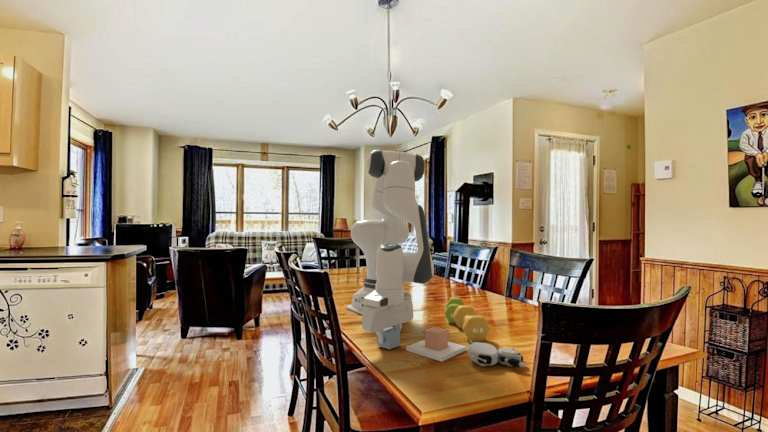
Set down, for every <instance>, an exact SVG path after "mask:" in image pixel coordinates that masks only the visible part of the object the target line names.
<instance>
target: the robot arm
mask: <svg viewBox="0 0 768 432" xmlns="http://www.w3.org/2000/svg"><path fill="white" fill-rule="evenodd" d="M425 162H426V161H425V159H424V157H423V156H422V155H419V154H416V153H411V152H406V151H401V150H381V149H373V150H371V152H370V153H369V156H368V157H367V160H366V169H367V173H368V174H369V176H371V177H373V178H376V179H375V183H374V188H373V193H372V200H371V205H372V208H373V209H374V211H375V212H376V213H378V214H380V215H381V216H382V217H381V219H363V220H359V221H358V220H357V221H355V222H353V224H352V226H351V228H350V238H351V240H352V241H353V243H354V244H355V245H356V246H357V247H359V248H360V250H361V251H362V253H363V255H364V258H365V261H366V263H365V264H366V278H363V279H362V281H361V282H362V283H363V286H362V287H361V288H360V289H358V290H357V291H356V292H355V293H354V294H353V296H352V299H351V304H348V305H347V306H346V309H347V310H350V311H353V312H355V313H357V314H360V315H361V324H362V325H361V328H362V329H363V331H364V332H366V333H370V334H371V333H372V334H373V333H375V334H376V336H377V343H378V342H379V343H381V344H382V343H385V342H386V341H385V339H386V337H383V334H382V333H383V331H384V329H386V328H389V327H394V328H396V329H400V331H401V330H402V328H403V324H405V323H407V322H408V323H409V322H412V320H413V318H414V304H413V300H412V296H411V294H410V293H409V292H407V291H405V290H404V282H405V283H406V282H407V283H414V284H419V285H420V284H421V285H425V284H427V283H428V282H429V281H430V280H431V279H433V278H434V277H433V276H434V273H435V266H434V261H433V258H432V253H431V247H430V239H429V233H428V225H427V220H426V219H427V218H426V215H425V209H424V207H423V206H421V205H420V204H419V203H418V202H417V199H416V182H419V181H420V180H421V179H422V178H423V176H424V175H425V171H426V163H425ZM406 222H407V223H409V224H411V225H412V226H413V227H414V230H415V238H416V245H417V251H416V252H403V246H402V244H404V243H406V242H407V241H408V239H409V235H410V229H409V226H408V225H407V223H406Z"/></svg>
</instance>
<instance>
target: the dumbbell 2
mask: <svg viewBox="0 0 768 432" xmlns="http://www.w3.org/2000/svg"><path fill="white" fill-rule="evenodd" d="M453 319H454V321H455V322H456V326H457V327H458V328H460V329H462V331H463V333H464V334H465V337H466V338H467V340H468V341H469V342H470V341H472V342H480V343H481V342H484V341H485V340H486V338H487V337H488V335H489V333H490V331H491V328H490V326H489V324H488V322H487V320H486V319H485V317H484V316H482V315H478V314H477V312H476V311H475V309H474V307H473V306H472V305H467V304H464V305H460V306H458V307H457V309H456V310H455V312H454V314H453Z"/></svg>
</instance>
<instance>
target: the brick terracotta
mask: <svg viewBox="0 0 768 432" xmlns="http://www.w3.org/2000/svg"><path fill="white" fill-rule="evenodd" d="M424 340H425V346H426V347H429V348H432V349H436V350H440V349H443V348H445V347H447V346H448V342H449V329H446V328H442V327H441V328H440V327H437V326H432V327H429V328H427V329H425V330H424Z"/></svg>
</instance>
